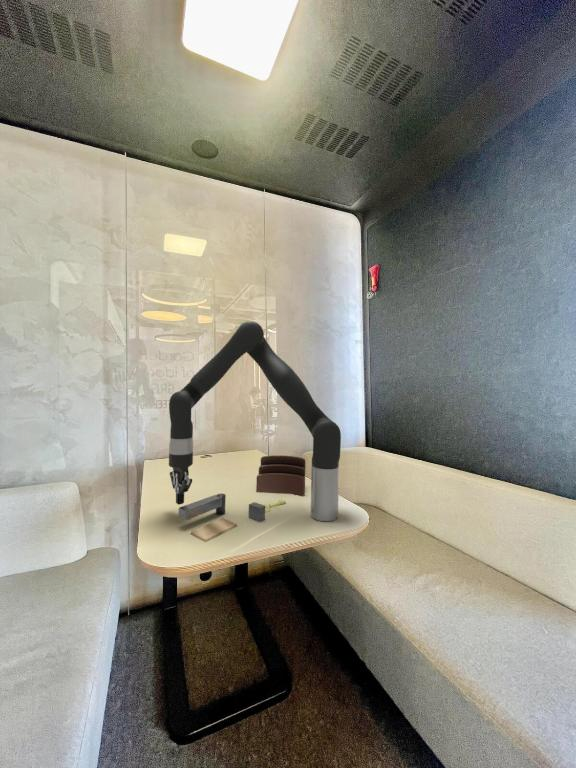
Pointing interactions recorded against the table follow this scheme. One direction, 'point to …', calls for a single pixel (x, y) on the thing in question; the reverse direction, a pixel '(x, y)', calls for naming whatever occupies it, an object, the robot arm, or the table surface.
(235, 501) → the table surface
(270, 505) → the key
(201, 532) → the brown rectangular panel
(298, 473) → the letter holder
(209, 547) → the table surface
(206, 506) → the grey handle
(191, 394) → the robot arm
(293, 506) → the table surface
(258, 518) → the block
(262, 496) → the table surface
